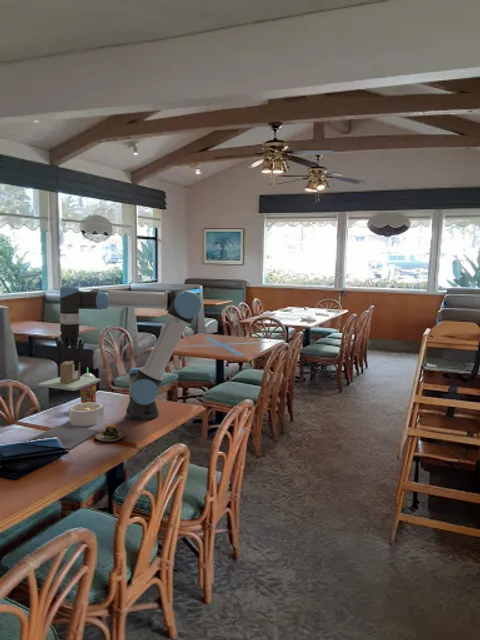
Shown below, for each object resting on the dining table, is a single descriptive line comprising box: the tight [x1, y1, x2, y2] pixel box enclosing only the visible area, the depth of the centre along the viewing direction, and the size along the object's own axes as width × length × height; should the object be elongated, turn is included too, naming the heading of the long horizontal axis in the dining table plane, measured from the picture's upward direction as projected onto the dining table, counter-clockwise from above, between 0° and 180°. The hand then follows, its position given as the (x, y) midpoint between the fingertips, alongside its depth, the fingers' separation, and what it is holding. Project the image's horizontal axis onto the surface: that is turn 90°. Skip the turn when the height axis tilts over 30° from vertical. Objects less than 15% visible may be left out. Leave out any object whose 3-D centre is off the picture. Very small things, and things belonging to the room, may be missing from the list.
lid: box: [37, 360, 102, 391], centre depth 205 cm, size 18×18×9 cm
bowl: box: [68, 402, 105, 427], centre depth 220 cm, size 14×14×6 cm
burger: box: [94, 423, 126, 443], centre depth 198 cm, size 12×12×8 cm
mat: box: [27, 425, 101, 451], centre depth 198 cm, size 21×21×1 cm
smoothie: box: [79, 367, 97, 403], centre depth 240 cm, size 8×8×20 cm
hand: (70, 377), depth 205 cm, fingers closed on lid, 4 cm apart
